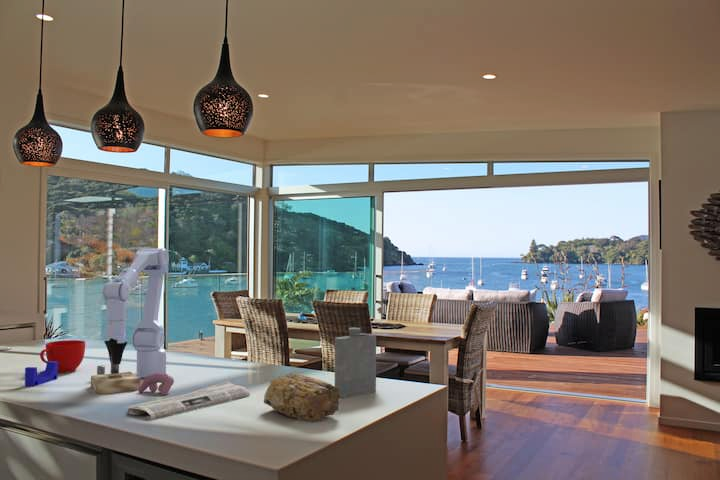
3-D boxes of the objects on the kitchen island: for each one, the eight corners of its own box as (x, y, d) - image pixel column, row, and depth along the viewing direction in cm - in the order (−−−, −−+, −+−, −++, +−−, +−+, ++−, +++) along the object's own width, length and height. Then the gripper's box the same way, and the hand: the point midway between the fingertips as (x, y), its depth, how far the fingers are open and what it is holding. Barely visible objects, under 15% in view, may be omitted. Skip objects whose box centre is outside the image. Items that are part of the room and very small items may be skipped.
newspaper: (150, 422, 160) (151, 408, 160) (123, 414, 167) (123, 400, 167) (253, 396, 188) (253, 385, 188) (225, 391, 195) (225, 379, 195)
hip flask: (339, 399, 183) (339, 330, 184) (330, 396, 186) (330, 329, 187) (378, 391, 194) (378, 326, 195) (368, 389, 197) (369, 325, 198)
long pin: (118, 372, 198) (118, 346, 198) (119, 373, 196) (119, 347, 196) (110, 372, 197) (110, 347, 197) (111, 374, 195) (111, 348, 195)
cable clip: (45, 379, 211) (45, 361, 211) (57, 379, 210) (57, 361, 210) (20, 386, 199) (20, 367, 199) (33, 387, 198) (33, 368, 198)
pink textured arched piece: (171, 398, 190) (177, 375, 193) (163, 394, 186) (170, 371, 189) (144, 395, 193) (150, 373, 196) (135, 391, 189) (142, 369, 193)
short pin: (103, 378, 211) (104, 365, 211) (105, 379, 209) (105, 366, 209) (96, 379, 210) (96, 365, 210) (97, 380, 208) (97, 367, 208)
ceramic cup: (26, 374, 217) (27, 345, 217) (66, 366, 233) (66, 339, 233) (54, 377, 212) (55, 348, 212) (93, 369, 228) (93, 341, 228)
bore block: (130, 382, 205) (130, 371, 205) (139, 389, 195) (139, 378, 195) (90, 386, 198) (91, 375, 198) (98, 394, 188) (99, 382, 188)
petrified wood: (346, 416, 163) (340, 379, 162) (306, 436, 155) (300, 398, 153) (303, 400, 178) (297, 366, 176) (264, 417, 170) (258, 382, 168)
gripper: (97, 318, 201) (97, 361, 201) (107, 323, 189) (107, 368, 188) (120, 317, 205) (120, 359, 204) (131, 321, 193) (131, 366, 192)
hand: (115, 363), depth 197 cm, fingers closed on long pin, 2 cm apart
